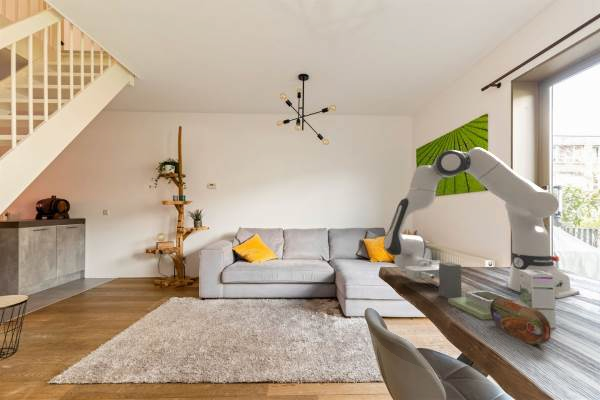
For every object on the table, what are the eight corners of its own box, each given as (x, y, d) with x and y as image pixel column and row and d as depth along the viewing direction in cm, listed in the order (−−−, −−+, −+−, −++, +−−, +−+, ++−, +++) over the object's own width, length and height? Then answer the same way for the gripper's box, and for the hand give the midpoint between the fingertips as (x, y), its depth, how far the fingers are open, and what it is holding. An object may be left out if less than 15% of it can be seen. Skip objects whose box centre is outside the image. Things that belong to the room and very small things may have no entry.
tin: (489, 323, 76) (488, 293, 76) (499, 322, 76) (499, 293, 76) (541, 352, 61) (540, 314, 61) (554, 351, 61) (553, 314, 61)
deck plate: (488, 299, 95) (487, 286, 95) (528, 315, 81) (527, 300, 81) (448, 302, 92) (448, 289, 92) (483, 319, 78) (482, 304, 78)
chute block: (451, 294, 100) (450, 262, 101) (461, 298, 96) (460, 265, 96) (439, 295, 100) (438, 262, 100) (449, 299, 95) (448, 265, 95)
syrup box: (557, 328, 72) (555, 274, 72) (532, 326, 73) (530, 273, 74) (542, 319, 78) (541, 269, 78) (519, 318, 79) (518, 268, 79)
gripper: (398, 262, 113) (418, 269, 99) (441, 259, 117) (466, 266, 103) (398, 277, 113) (418, 286, 99) (441, 274, 117) (466, 283, 103)
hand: (443, 276), depth 101 cm, fingers open, 8 cm apart
